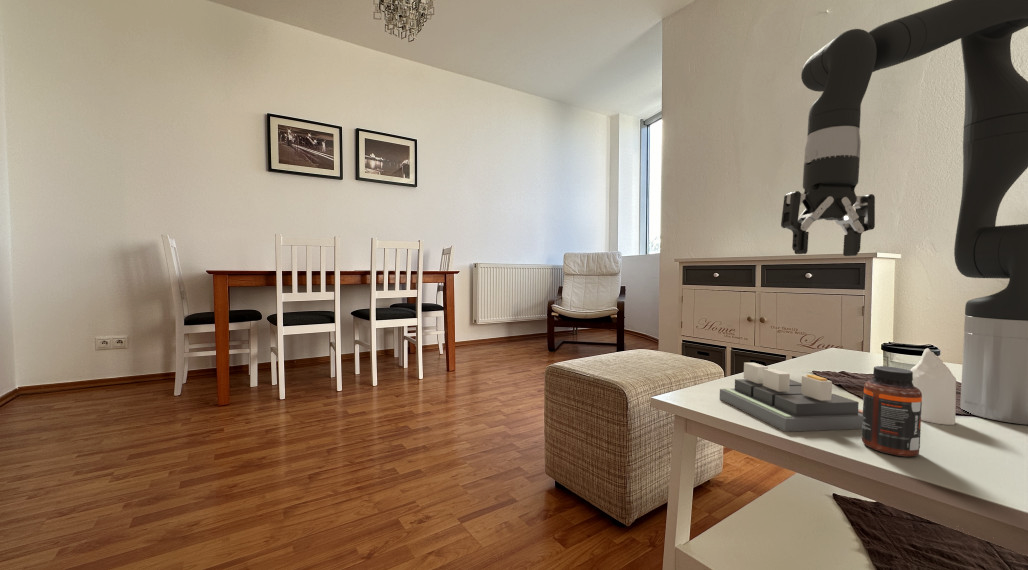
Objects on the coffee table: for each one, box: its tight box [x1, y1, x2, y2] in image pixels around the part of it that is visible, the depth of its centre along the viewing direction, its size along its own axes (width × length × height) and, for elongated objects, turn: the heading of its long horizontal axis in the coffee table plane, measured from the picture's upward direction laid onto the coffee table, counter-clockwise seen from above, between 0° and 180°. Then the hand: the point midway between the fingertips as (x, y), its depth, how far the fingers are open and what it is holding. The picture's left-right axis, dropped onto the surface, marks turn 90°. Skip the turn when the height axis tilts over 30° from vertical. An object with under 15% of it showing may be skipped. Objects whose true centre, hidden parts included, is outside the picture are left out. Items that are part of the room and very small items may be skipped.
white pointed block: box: [909, 347, 957, 426], centre depth 69 cm, size 6×12×6 cm
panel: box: [719, 378, 863, 433], centre depth 71 cm, size 16×16×4 cm
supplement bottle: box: [861, 365, 922, 458], centre depth 56 cm, size 6×6×11 cm
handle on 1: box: [743, 362, 769, 383], centre depth 76 cm, size 2×4×3 cm, turn 7°
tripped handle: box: [801, 374, 833, 400], centre depth 66 cm, size 2×4×3 cm, turn 7°
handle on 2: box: [763, 368, 791, 392], centre depth 71 cm, size 2×4×3 cm, turn 7°
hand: (825, 254), depth 69 cm, fingers open, 8 cm apart
